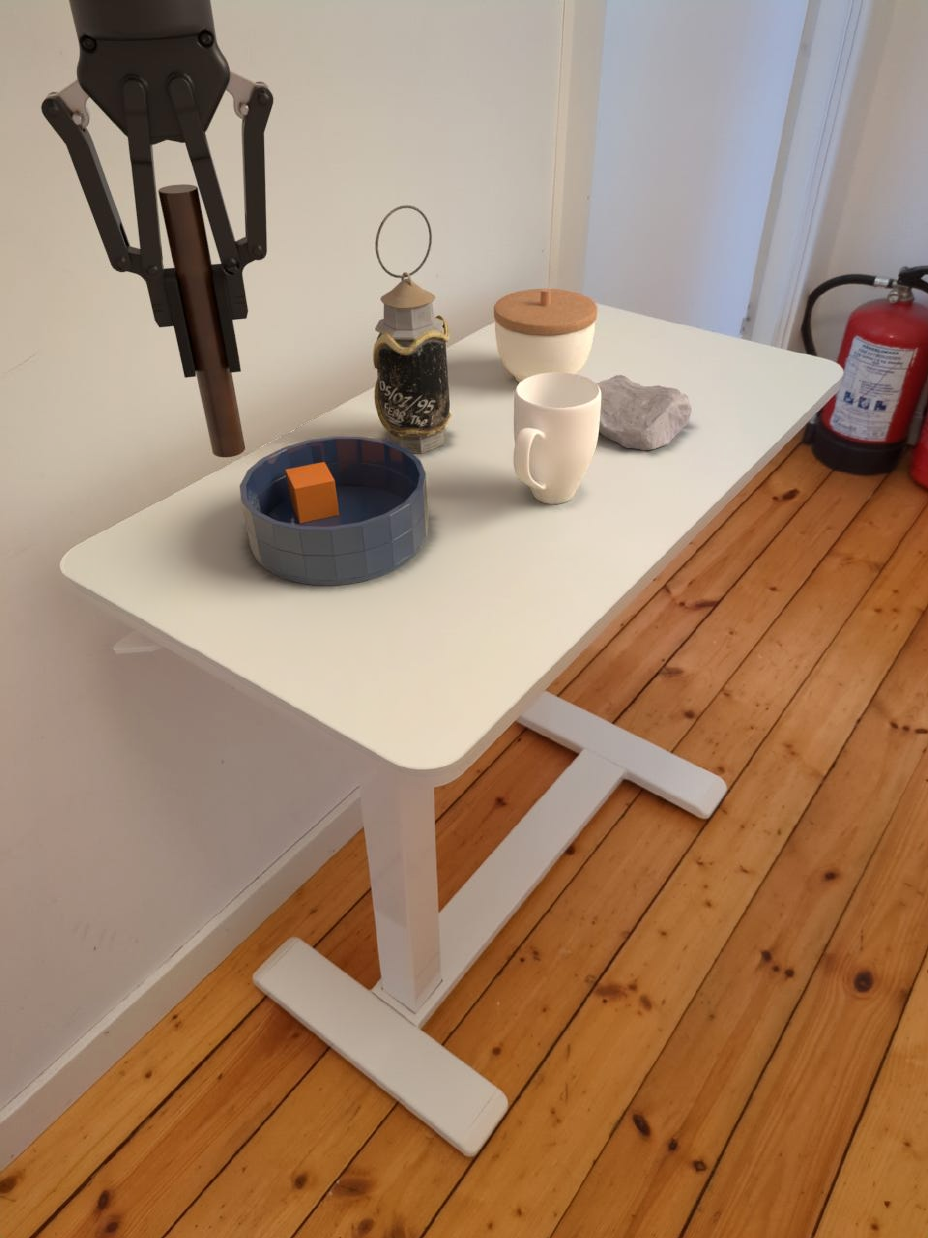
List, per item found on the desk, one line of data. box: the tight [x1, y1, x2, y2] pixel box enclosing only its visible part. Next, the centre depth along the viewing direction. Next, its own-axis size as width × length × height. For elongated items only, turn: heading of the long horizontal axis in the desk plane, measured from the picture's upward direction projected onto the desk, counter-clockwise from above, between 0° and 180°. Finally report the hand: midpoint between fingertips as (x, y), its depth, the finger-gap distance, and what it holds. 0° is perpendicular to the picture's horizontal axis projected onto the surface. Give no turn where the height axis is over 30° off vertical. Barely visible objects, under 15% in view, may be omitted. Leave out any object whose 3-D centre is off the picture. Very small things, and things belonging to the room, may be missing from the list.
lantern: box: [372, 204, 452, 454], centre depth 94 cm, size 9×8×25 cm
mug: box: [513, 372, 601, 505], centre depth 87 cm, size 12×8×11 cm
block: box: [285, 462, 339, 524], centre depth 89 cm, size 4×4×4 cm
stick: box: [157, 183, 246, 458], centre depth 61 cm, size 2×2×18 cm
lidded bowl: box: [493, 287, 598, 384], centre depth 111 cm, size 13×13×11 cm
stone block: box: [596, 374, 692, 451], centre depth 103 cm, size 12×5×10 cm
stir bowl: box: [239, 435, 430, 586], centre depth 86 cm, size 17×17×6 cm
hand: (212, 366), depth 63 cm, fingers closed on stick, 2 cm apart
